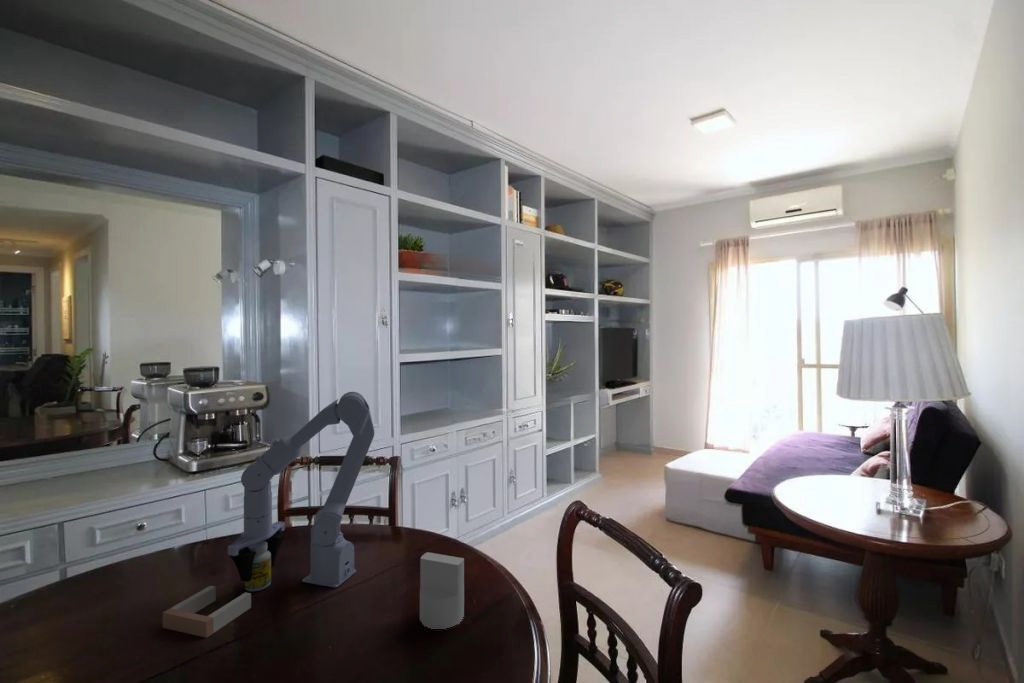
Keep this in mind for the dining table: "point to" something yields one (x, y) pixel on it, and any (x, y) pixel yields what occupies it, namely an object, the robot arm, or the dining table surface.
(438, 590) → the grey rounded block
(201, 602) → the frame
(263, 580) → the supplement bottle
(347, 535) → the dining table surface
